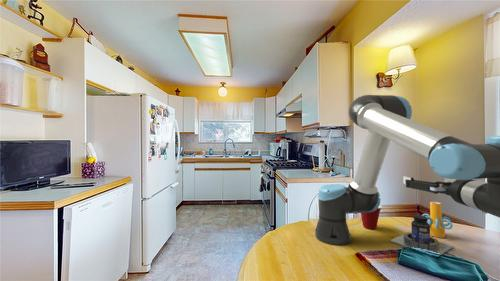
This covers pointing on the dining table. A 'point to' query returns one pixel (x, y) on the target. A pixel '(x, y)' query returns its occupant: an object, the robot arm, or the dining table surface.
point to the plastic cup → (371, 219)
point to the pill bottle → (420, 229)
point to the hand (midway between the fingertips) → (424, 180)
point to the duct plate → (441, 250)
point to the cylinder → (437, 220)
